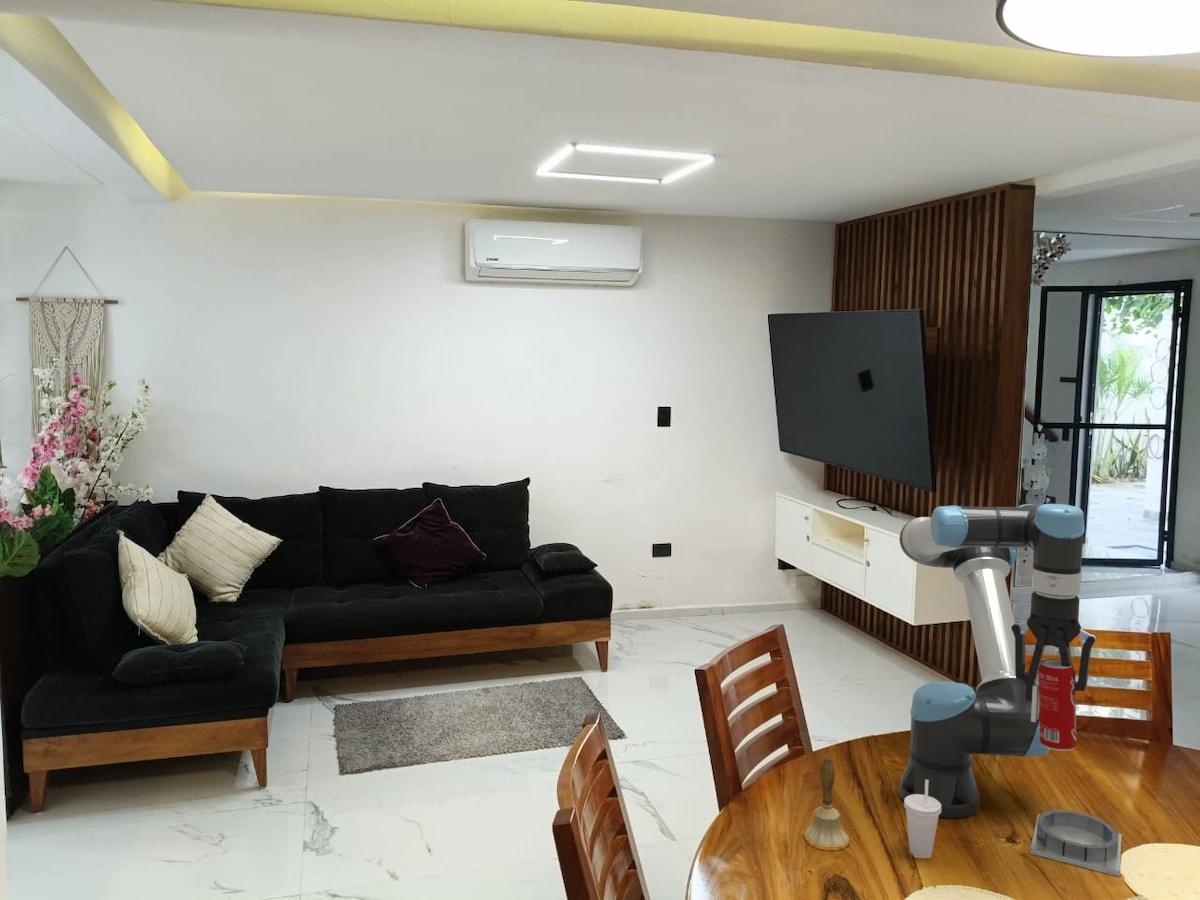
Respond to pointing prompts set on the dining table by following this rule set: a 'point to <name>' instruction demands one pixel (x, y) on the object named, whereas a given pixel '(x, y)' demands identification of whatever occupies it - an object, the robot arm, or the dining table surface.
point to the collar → (1077, 841)
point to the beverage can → (1057, 705)
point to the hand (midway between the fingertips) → (1048, 722)
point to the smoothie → (922, 822)
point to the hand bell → (827, 814)
